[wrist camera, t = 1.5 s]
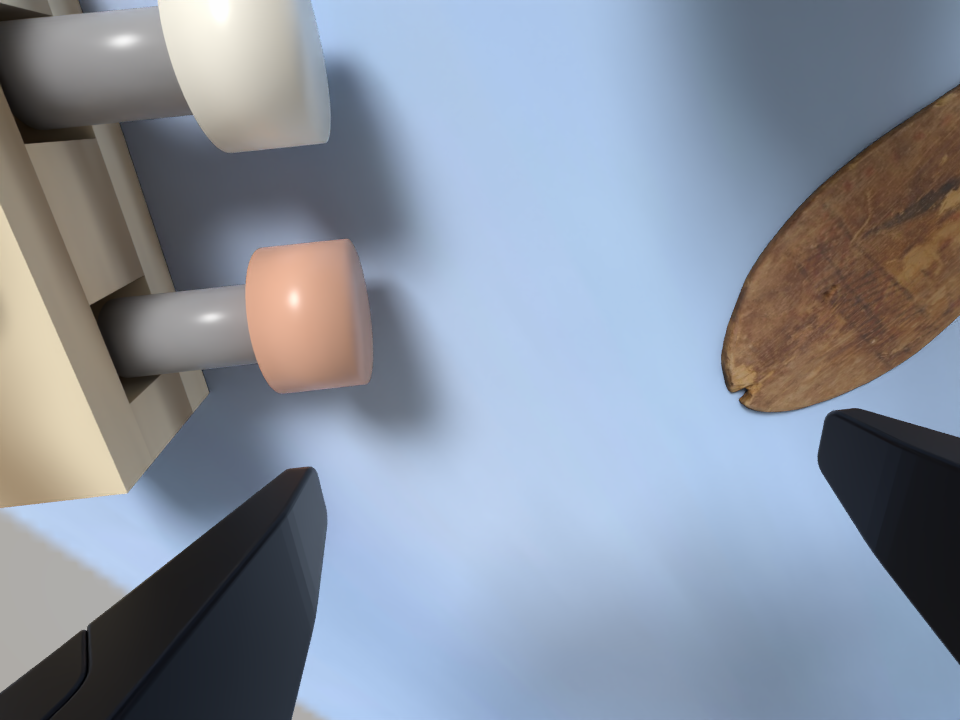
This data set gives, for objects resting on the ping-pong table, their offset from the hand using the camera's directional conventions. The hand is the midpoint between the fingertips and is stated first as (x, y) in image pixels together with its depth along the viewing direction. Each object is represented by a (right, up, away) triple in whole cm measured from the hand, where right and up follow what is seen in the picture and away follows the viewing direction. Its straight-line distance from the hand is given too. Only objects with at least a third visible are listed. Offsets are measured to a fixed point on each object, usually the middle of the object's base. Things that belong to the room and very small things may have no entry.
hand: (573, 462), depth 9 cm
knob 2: (-9, +4, +10) cm, 14 cm away
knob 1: (-9, +10, +7) cm, 15 cm away
